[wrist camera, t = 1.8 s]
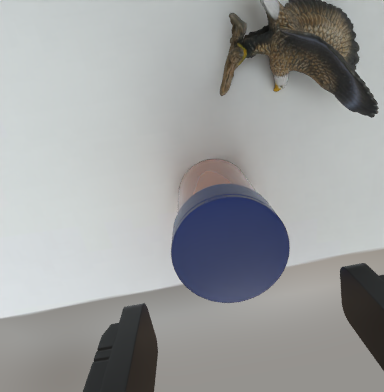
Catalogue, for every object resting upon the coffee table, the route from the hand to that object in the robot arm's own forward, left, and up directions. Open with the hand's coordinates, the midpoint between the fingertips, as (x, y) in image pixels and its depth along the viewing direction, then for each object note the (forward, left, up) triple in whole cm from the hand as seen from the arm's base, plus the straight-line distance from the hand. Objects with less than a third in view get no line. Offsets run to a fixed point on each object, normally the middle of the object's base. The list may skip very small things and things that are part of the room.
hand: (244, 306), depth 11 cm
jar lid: (0, 0, -4) cm, 4 cm away
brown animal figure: (-7, -8, -14) cm, 17 cm away
